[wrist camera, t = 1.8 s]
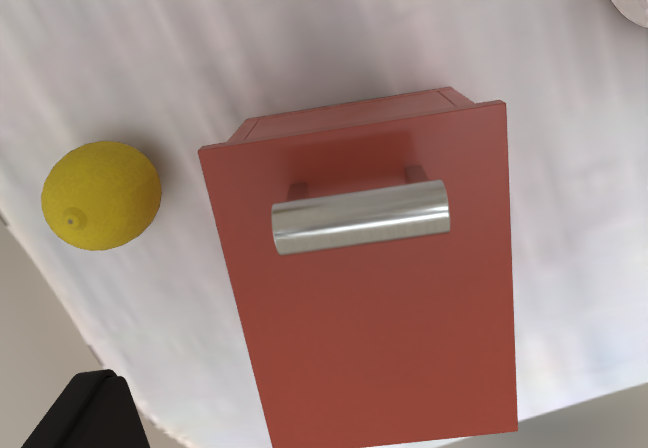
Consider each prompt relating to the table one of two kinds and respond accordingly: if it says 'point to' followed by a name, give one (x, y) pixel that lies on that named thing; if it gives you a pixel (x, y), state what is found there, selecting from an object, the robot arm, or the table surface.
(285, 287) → the bin lid
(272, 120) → the bin
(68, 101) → the table surface
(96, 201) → the lemon
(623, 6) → the jar
